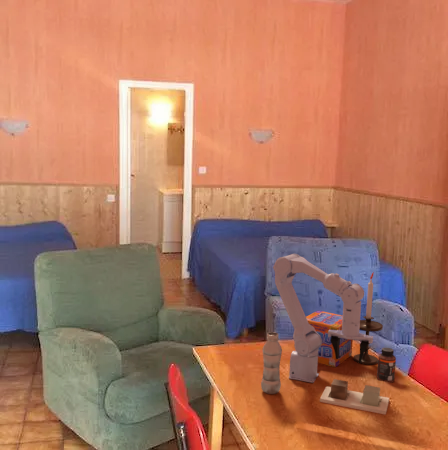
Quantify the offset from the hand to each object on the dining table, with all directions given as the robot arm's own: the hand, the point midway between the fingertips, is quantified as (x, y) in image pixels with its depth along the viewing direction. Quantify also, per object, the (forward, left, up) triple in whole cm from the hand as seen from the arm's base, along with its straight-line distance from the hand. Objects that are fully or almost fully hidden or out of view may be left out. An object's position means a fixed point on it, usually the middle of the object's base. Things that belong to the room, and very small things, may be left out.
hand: (348, 360), depth 186 cm
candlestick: (+2, +30, -10) cm, 31 cm away
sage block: (+9, -11, -9) cm, 17 cm away
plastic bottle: (-23, -13, -10) cm, 28 cm away
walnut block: (-1, -11, -9) cm, 14 cm away
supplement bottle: (+11, +14, -10) cm, 20 cm away
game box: (-13, +27, -11) cm, 31 cm away
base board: (+4, -11, -10) cm, 16 cm away
